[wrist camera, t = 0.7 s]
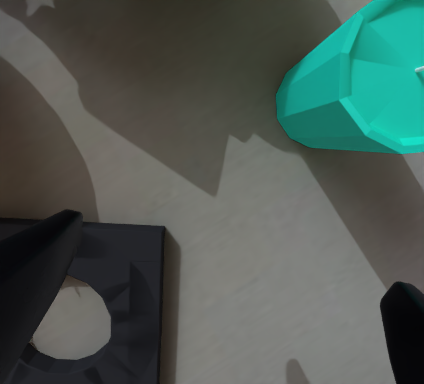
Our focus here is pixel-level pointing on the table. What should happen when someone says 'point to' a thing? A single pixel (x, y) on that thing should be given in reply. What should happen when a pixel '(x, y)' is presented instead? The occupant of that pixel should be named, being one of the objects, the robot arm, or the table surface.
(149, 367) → the candle pad
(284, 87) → the candle
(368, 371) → the table surface
